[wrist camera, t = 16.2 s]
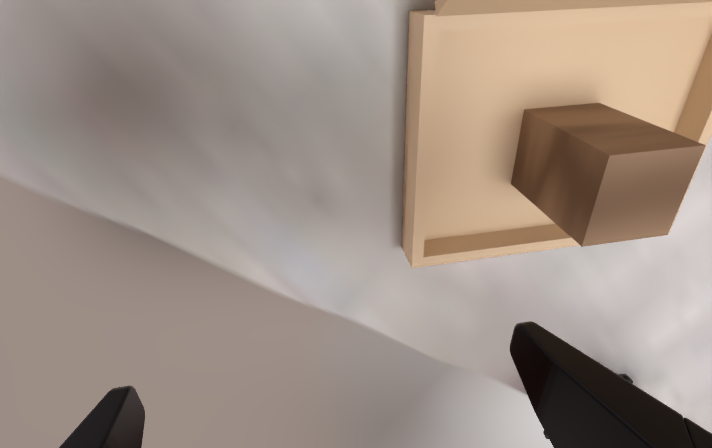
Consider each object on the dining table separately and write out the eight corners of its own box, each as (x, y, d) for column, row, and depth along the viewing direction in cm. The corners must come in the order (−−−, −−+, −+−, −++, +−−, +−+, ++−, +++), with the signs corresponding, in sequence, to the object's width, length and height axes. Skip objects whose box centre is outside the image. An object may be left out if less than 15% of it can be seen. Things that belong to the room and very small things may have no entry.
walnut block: (579, 176, 23) (667, 234, 18) (510, 184, 22) (581, 246, 17) (599, 102, 21) (706, 145, 16) (524, 109, 20) (609, 155, 15)
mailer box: (642, 215, 26) (668, 232, 24) (401, 246, 24) (411, 268, 22) (727, -6, 20) (770, -3, 18) (409, 11, 17) (424, 15, 16)
